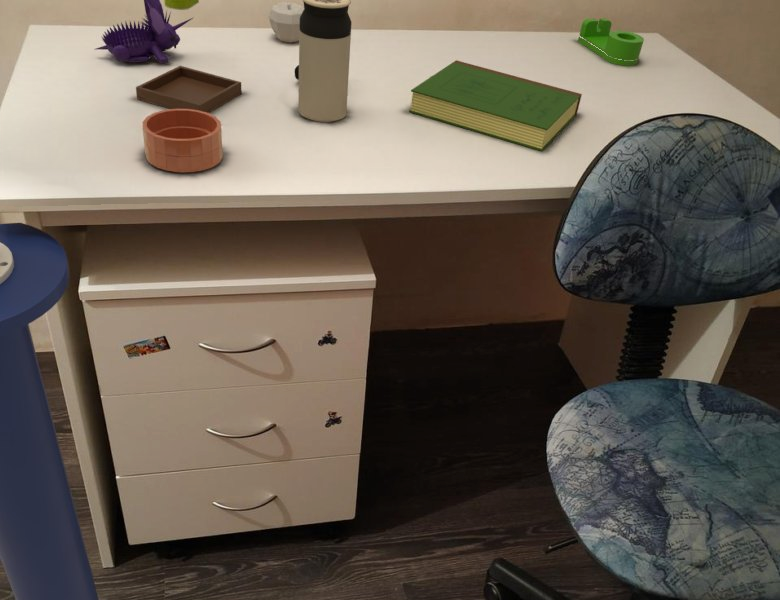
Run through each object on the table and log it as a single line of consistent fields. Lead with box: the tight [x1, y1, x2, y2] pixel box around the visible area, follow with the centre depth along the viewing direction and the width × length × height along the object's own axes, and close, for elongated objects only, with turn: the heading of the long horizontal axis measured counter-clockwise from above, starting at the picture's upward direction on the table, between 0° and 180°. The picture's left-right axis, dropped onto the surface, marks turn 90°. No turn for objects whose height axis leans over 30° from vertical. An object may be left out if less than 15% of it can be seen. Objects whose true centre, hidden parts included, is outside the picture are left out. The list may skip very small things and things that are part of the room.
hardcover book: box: [408, 59, 583, 152], centre depth 139 cm, size 25×19×4 cm
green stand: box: [577, 17, 645, 67], centre depth 169 cm, size 15×7×5 cm, turn 22°
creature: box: [95, 0, 194, 64], centre depth 140 cm, size 9×18×12 cm, turn 107°
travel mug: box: [297, 0, 352, 123], centre depth 127 cm, size 8×8×18 cm
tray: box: [135, 65, 243, 114], centre depth 133 cm, size 12×12×2 cm
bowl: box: [141, 108, 224, 173], centre depth 115 cm, size 11×11×5 cm
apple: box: [268, 2, 304, 44], centre depth 156 cm, size 8×8×7 cm
